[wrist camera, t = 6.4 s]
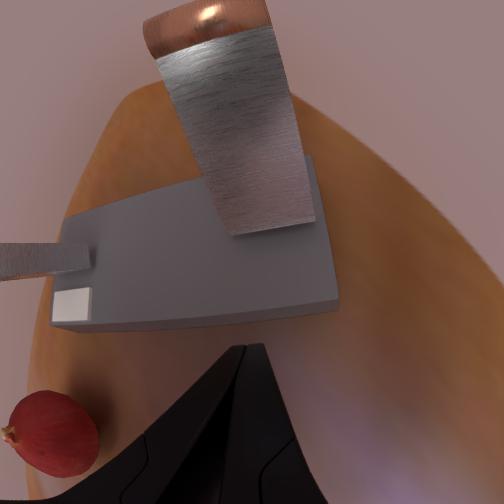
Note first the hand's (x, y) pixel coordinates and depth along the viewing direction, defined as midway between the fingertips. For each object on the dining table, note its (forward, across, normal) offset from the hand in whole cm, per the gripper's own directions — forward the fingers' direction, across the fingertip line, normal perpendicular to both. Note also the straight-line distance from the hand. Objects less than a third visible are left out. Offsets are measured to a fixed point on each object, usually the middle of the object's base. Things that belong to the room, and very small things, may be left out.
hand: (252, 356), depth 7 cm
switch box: (+10, +6, +1) cm, 12 cm away
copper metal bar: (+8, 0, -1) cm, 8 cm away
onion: (+3, +14, +10) cm, 17 cm away
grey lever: (+8, +13, -1) cm, 15 cm away
